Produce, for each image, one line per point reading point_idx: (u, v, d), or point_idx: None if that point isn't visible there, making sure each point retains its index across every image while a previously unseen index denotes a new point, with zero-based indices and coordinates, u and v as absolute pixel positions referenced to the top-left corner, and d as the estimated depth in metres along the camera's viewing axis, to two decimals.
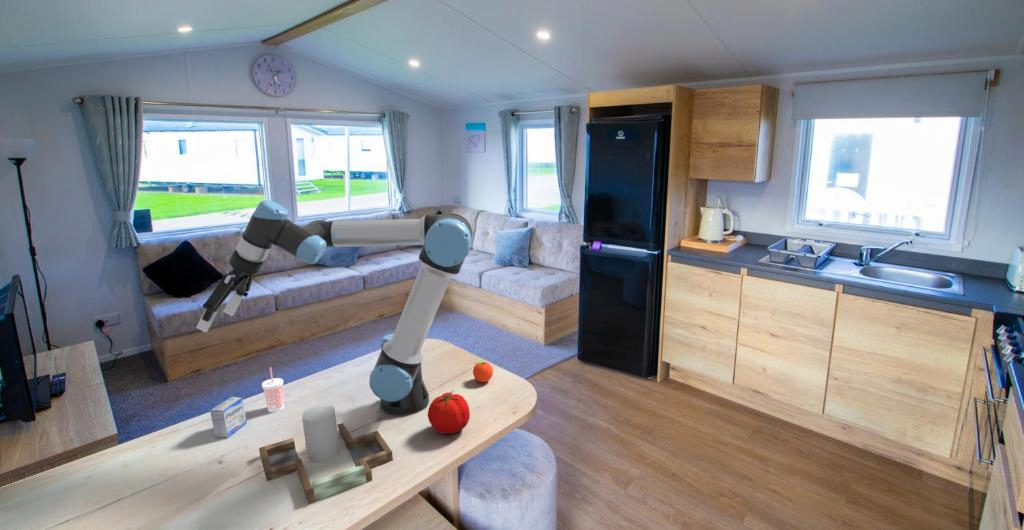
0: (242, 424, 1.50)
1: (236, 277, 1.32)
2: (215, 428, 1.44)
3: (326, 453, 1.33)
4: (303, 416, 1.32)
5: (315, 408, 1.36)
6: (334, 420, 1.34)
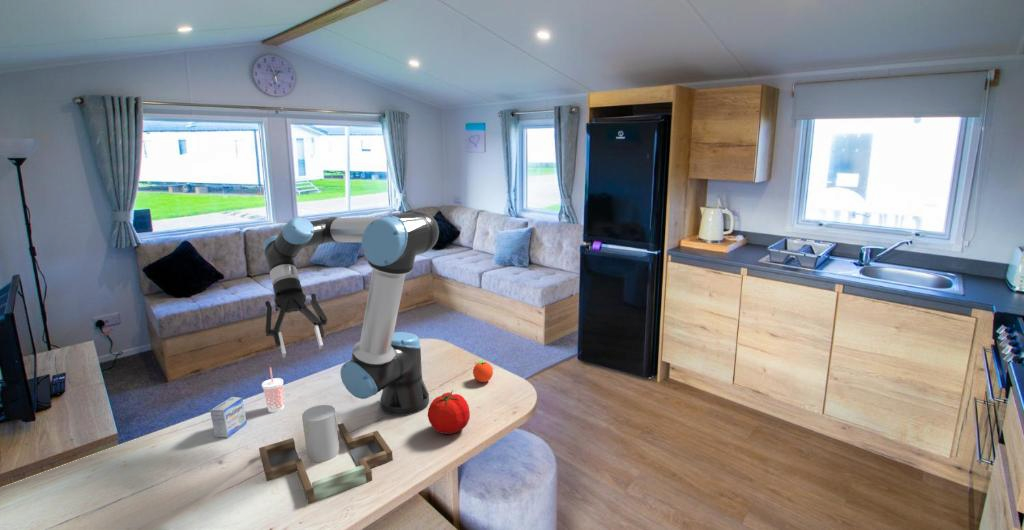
0: (242, 424, 1.50)
1: (275, 300, 1.46)
2: (215, 428, 1.44)
3: (326, 453, 1.33)
4: (303, 416, 1.32)
5: (315, 408, 1.36)
6: (334, 420, 1.34)
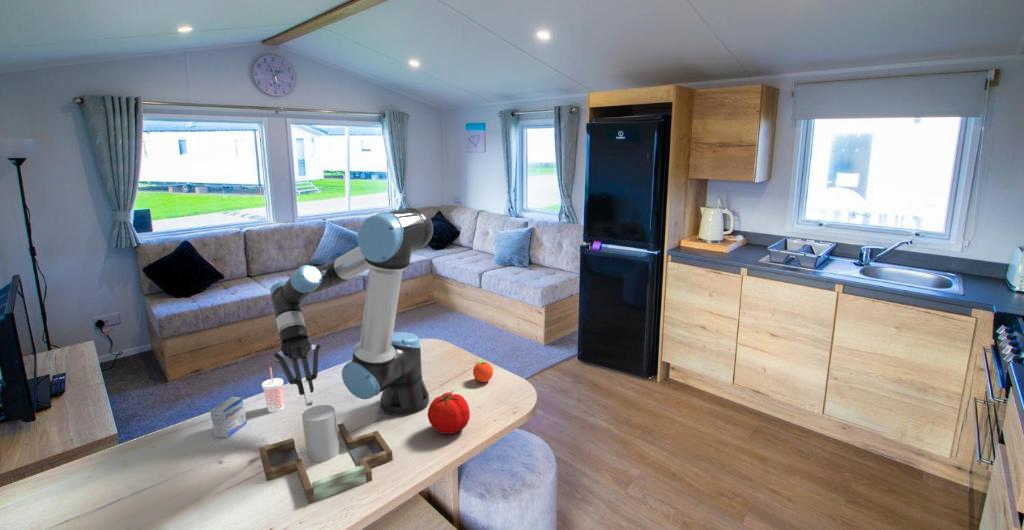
0: (242, 424, 1.50)
1: (282, 349, 1.47)
2: (215, 428, 1.44)
3: (326, 453, 1.33)
4: (303, 416, 1.32)
5: (315, 408, 1.36)
6: (334, 420, 1.34)
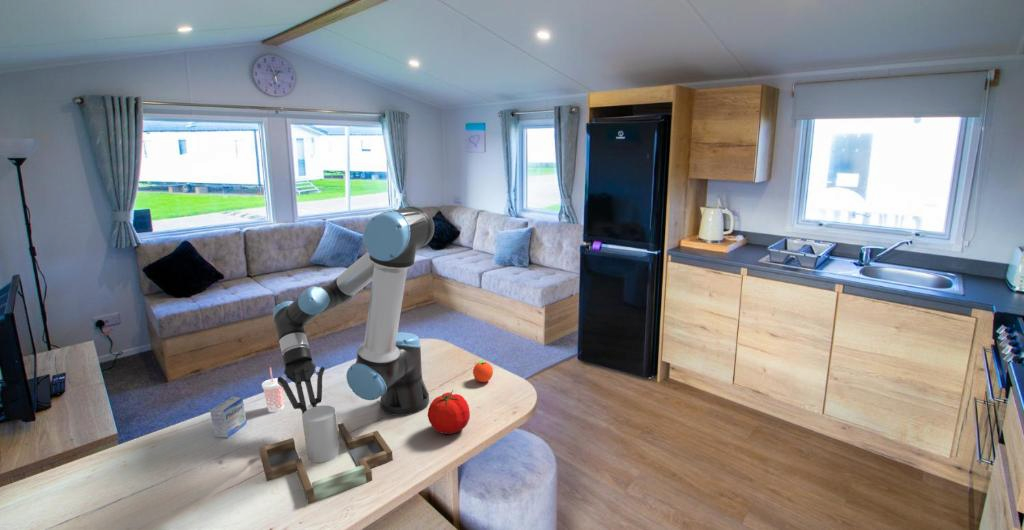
0: (242, 424, 1.50)
1: (285, 373, 1.44)
2: (215, 428, 1.44)
3: (327, 454, 1.33)
4: (303, 417, 1.32)
5: (315, 409, 1.36)
6: (334, 420, 1.34)
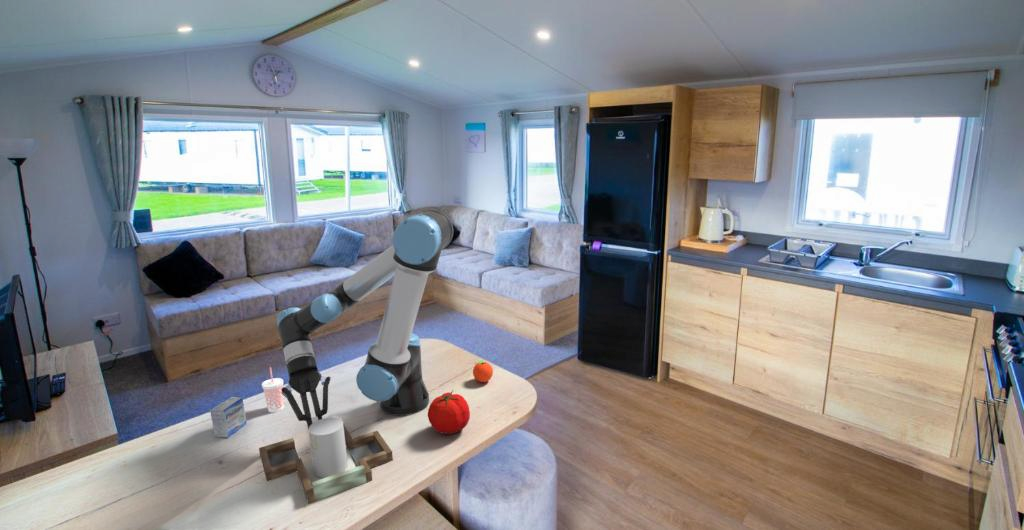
0: (242, 424, 1.50)
1: (289, 383, 1.37)
2: (215, 428, 1.44)
3: (336, 468, 1.27)
4: (310, 430, 1.26)
5: (321, 421, 1.29)
6: (343, 433, 1.28)
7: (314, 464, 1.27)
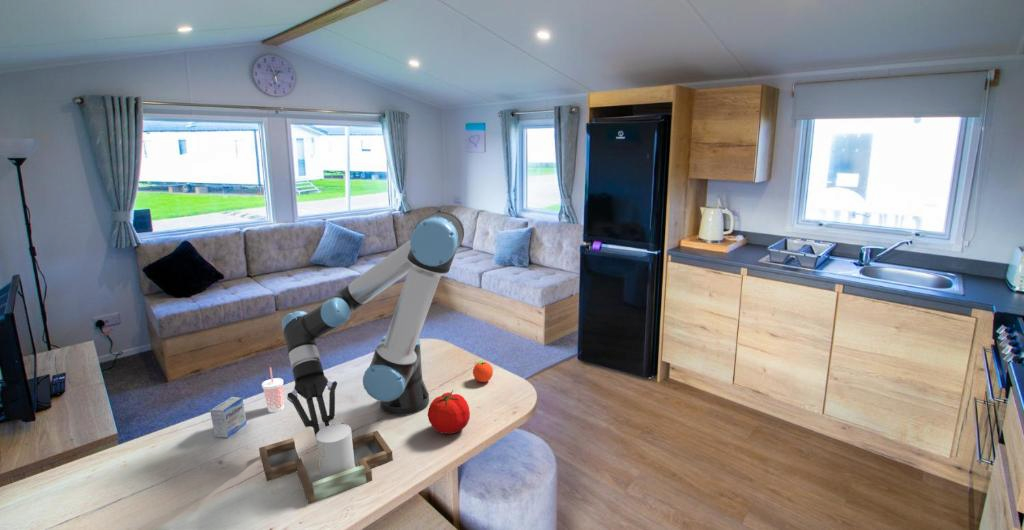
0: (242, 424, 1.50)
1: (295, 388, 1.34)
2: (215, 428, 1.44)
3: None
4: (317, 437, 1.22)
5: (329, 428, 1.26)
6: (351, 440, 1.25)
7: (321, 472, 1.24)
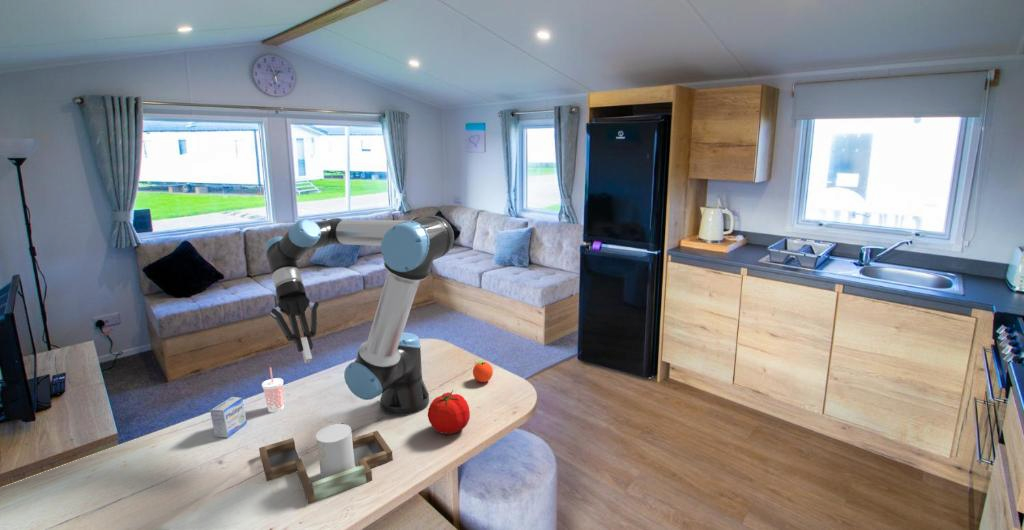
0: (242, 424, 1.50)
1: (279, 305, 1.41)
2: (215, 428, 1.44)
3: None
4: (317, 437, 1.22)
5: (329, 428, 1.26)
6: (351, 440, 1.25)
7: (321, 472, 1.24)
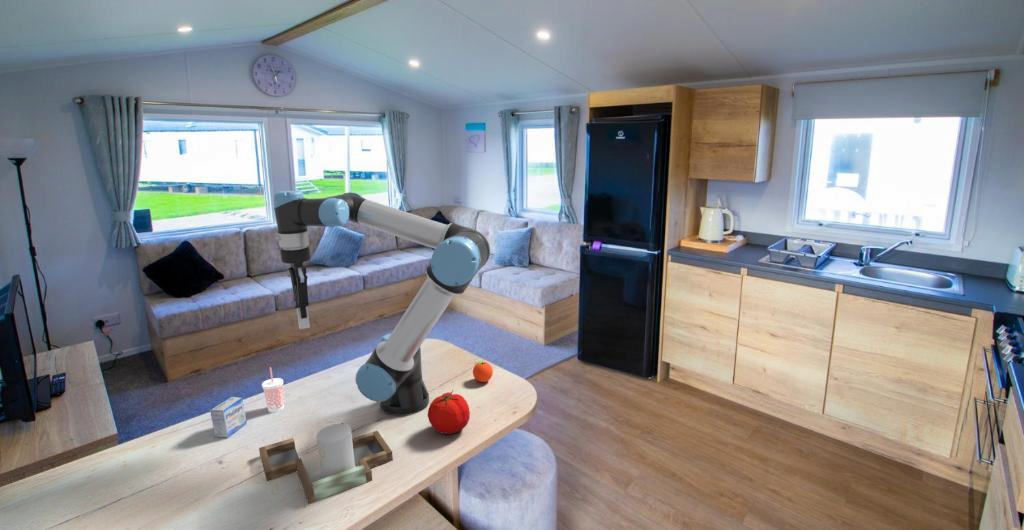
0: (242, 424, 1.50)
1: (303, 270, 1.39)
2: (215, 428, 1.44)
3: None
4: (317, 437, 1.22)
5: (329, 428, 1.26)
6: (351, 440, 1.25)
7: (321, 472, 1.24)
